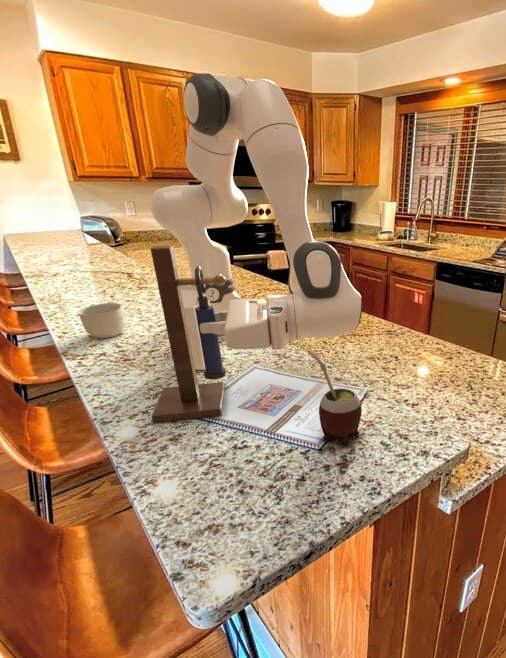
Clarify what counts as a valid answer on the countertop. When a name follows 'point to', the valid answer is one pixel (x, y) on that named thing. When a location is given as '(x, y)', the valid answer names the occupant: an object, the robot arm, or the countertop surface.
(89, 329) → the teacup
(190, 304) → the milk carton
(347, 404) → the mate gourd
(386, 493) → the countertop surface
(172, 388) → the coat stand
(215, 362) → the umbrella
